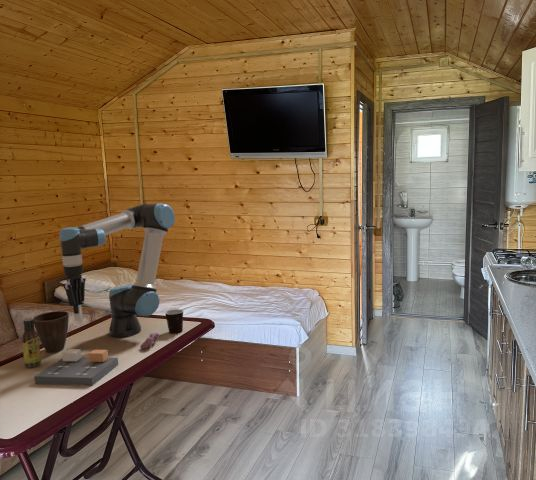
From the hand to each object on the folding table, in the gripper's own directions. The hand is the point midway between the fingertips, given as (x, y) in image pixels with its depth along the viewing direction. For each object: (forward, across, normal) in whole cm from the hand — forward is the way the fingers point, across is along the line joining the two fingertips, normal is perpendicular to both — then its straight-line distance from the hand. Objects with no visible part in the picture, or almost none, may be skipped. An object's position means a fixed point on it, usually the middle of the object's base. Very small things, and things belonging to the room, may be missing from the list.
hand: (78, 320), depth 213 cm
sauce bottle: (+18, +7, -19) cm, 27 cm away
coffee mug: (+18, -36, +27) cm, 48 cm away
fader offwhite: (+14, +8, 0) cm, 16 cm away
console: (+18, +14, +6) cm, 23 cm away
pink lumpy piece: (+18, -18, +22) cm, 34 cm away
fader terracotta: (+14, +8, +12) cm, 20 cm away
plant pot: (+18, -11, -21) cm, 30 cm away
